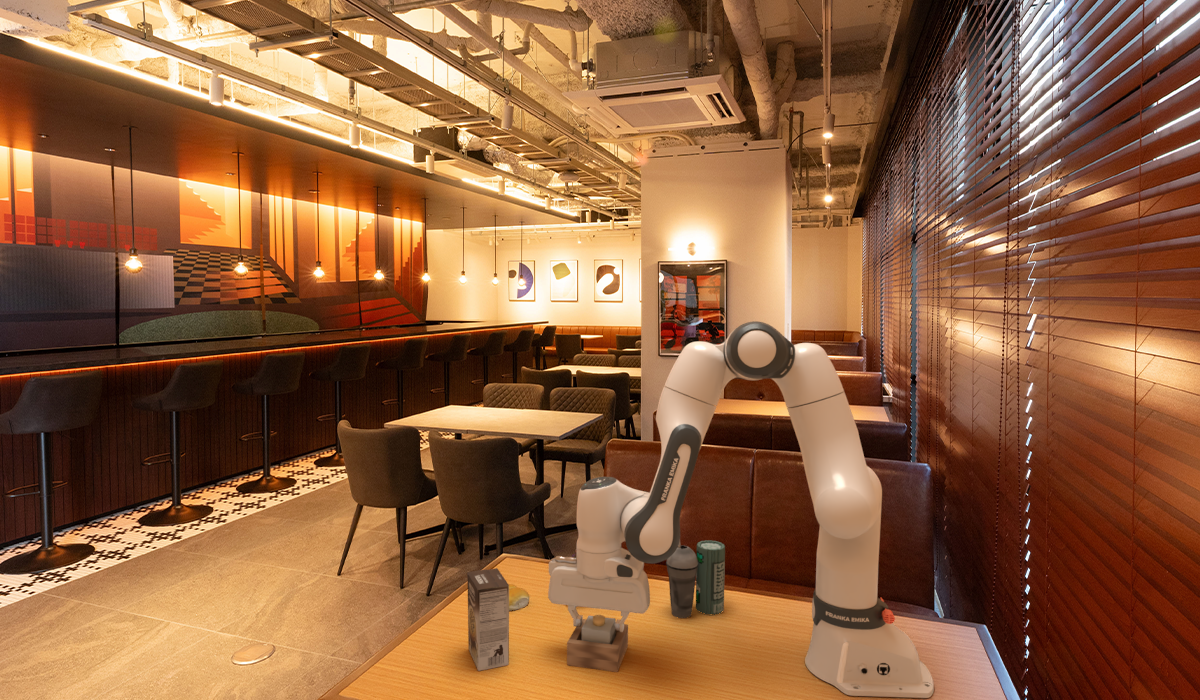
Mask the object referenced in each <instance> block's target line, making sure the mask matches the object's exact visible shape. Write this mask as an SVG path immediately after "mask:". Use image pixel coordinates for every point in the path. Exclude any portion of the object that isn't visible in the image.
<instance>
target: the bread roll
mask: <svg viewBox="0 0 1200 700" xmlns="http://www.w3.org/2000/svg"><path fill="white" fill-rule="evenodd" d="M508 584H509V612H510V611H511V612H512V610H513V611H517V610H520V608H521V609H523V608H525V607H526V606H527V605H528V604H529V602H530V598H531V597H530V594H529V593H528V591H527V590H526V589H524V588H522V587H520V586H517V585H515V584H513V583H508Z"/></svg>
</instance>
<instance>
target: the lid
mask: <svg viewBox="0 0 1200 700" xmlns="http://www.w3.org/2000/svg"><path fill="white" fill-rule="evenodd" d="M616 620H617V619H616V618H613V617H606V616H604V615H603V614H595V615H588V616H587V618H586V621H585V623H584V625H583V627H582V641H588V642H596V643H604V644H611V645H612V644H613V641H614V639H615V637H616V631H615V628H616V627H615V623H616Z"/></svg>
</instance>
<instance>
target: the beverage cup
mask: <svg viewBox="0 0 1200 700" xmlns="http://www.w3.org/2000/svg"><path fill="white" fill-rule="evenodd" d="M665 564H666V568H667V574H668V583H669V584H668V585H669V597H670V599H669V600H670V607H671V615H672V616H673V617H675V618H677V617H678V619H687V617H688V618H690V617H692V615H691V614H693V607H694V599H695V598H694V597H695V590H696V574H697V569H698V561H697V553H695V551H694V550H693V549H692V548H691V547H689V546H687V545H681V540H680V541H679V545H678V547H677V549H676V551H675V552H674V553H673V554H672V555H671V556H670V557H669V558H668V559H666V562H665ZM689 616H690V617H689Z"/></svg>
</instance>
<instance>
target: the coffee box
mask: <svg viewBox="0 0 1200 700" xmlns="http://www.w3.org/2000/svg"><path fill="white" fill-rule="evenodd" d="M466 574H467V577H466V578H467V618H468V619H467V620H468V621H467V626H468V627H467V631H468V633H467V635H468V636H467V637H468V642H467V643H468V644H467V645H468V651H469V653H470V656H471V657H472V660H473V662H474V663H473V664H474V665H475V667H476V670H477V672H481V671H486V670H489V669H490V670H491V669H494V668H495V669H496V668H500V667H505V666H509V664H510V663H509V662H510V651H509V649H510V648H509V647H510V646H509V645H510V642H509V641H510V611H509V584H510V583H508V581H507V580H506V579H505V578H504V576H503V574H502V573H501V571H500V569H498V568H497V567H496V568H491V569H480V570H479V569H478V570H473V571H468V572H467V573H466Z"/></svg>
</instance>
